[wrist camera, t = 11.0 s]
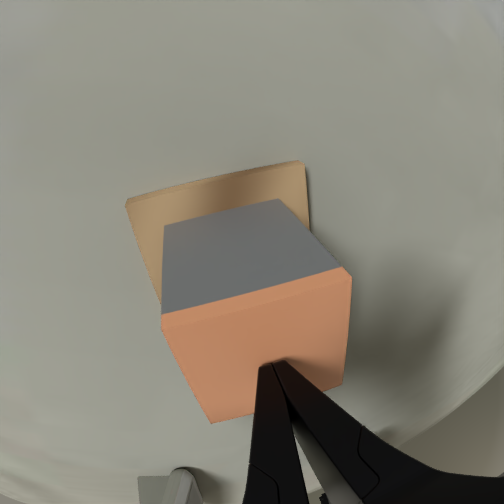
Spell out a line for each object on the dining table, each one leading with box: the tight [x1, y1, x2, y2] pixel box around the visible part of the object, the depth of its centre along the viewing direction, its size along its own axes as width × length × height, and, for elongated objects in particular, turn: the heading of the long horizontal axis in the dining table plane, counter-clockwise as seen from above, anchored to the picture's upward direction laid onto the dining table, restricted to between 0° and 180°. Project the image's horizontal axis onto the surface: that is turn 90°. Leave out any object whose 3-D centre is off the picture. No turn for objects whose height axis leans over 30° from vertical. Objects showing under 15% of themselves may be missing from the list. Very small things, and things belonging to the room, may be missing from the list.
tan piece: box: [125, 160, 310, 304], centre depth 13 cm, size 8×8×6 cm
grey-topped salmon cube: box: [161, 198, 352, 424], centre depth 12 cm, size 5×5×7 cm
